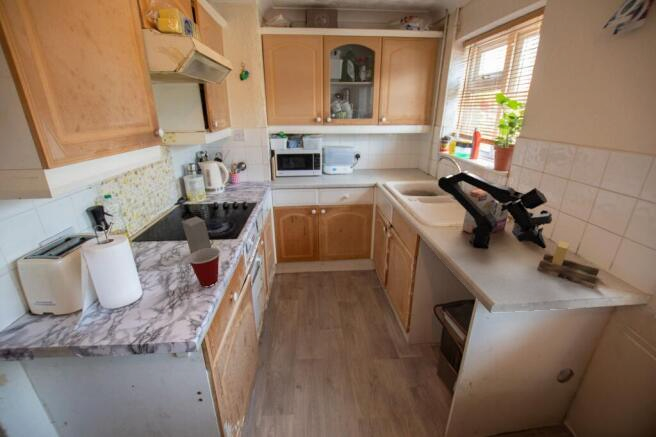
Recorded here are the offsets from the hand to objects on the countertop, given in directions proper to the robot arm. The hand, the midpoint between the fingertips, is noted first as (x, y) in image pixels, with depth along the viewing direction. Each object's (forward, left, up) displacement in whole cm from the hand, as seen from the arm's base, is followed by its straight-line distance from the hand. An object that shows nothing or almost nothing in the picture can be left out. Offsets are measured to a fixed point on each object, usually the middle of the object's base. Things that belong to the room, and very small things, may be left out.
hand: (544, 247), depth 115 cm
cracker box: (-13, +32, -8) cm, 36 cm away
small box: (+7, +26, -8) cm, 28 cm away
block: (+4, -3, -6) cm, 8 cm away
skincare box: (-141, -5, -8) cm, 141 cm away
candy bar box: (-4, +33, -8) cm, 35 cm away
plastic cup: (-128, -25, -8) cm, 131 cm away
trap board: (+7, -6, -8) cm, 12 cm away
